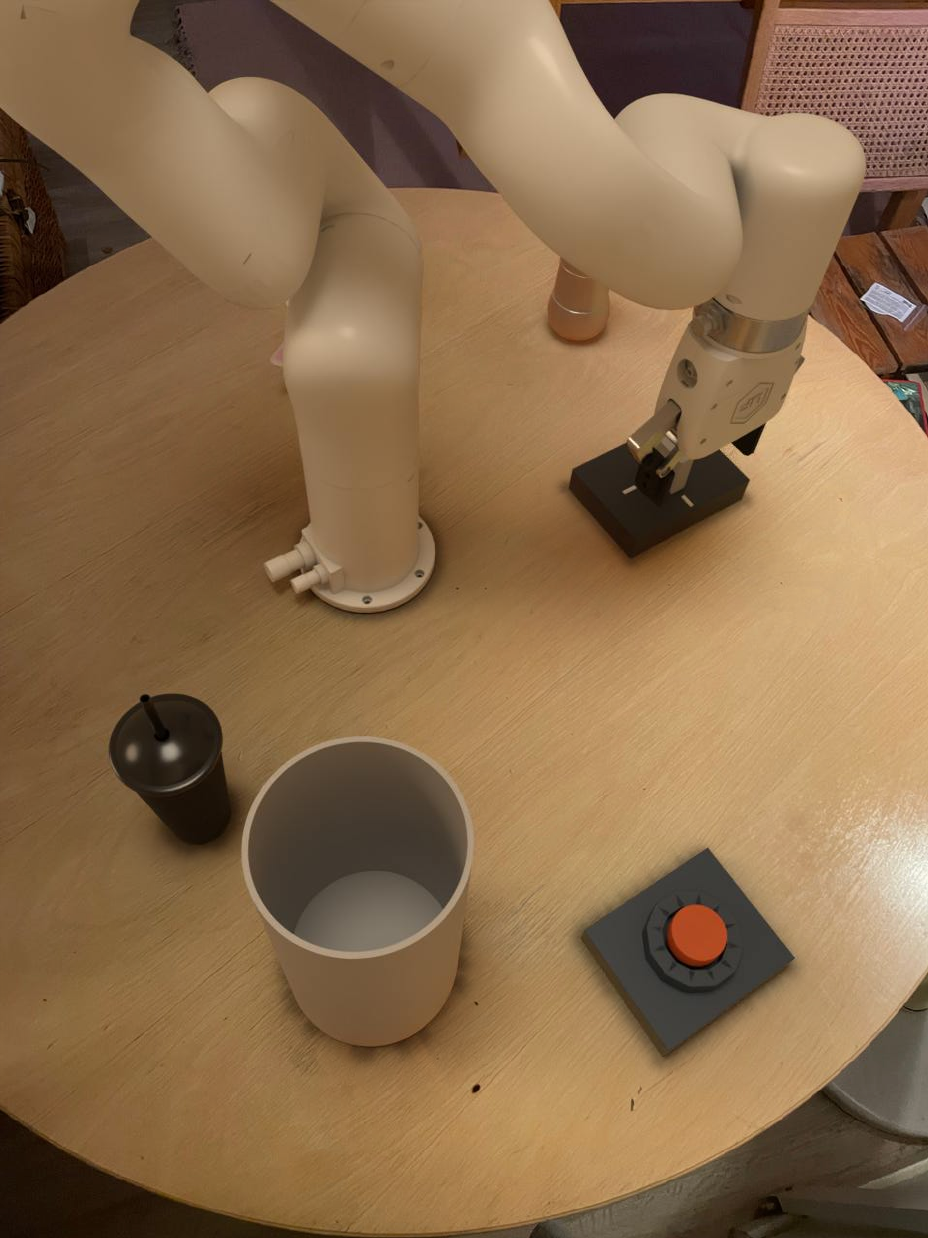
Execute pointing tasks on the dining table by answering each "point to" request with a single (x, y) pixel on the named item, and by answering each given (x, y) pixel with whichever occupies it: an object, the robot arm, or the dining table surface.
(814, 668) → the dining table surface
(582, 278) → the plastic bottle
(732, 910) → the switch block
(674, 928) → the button
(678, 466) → the temp dial
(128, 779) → the drinking cup
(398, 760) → the cylinder vase
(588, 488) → the panel
